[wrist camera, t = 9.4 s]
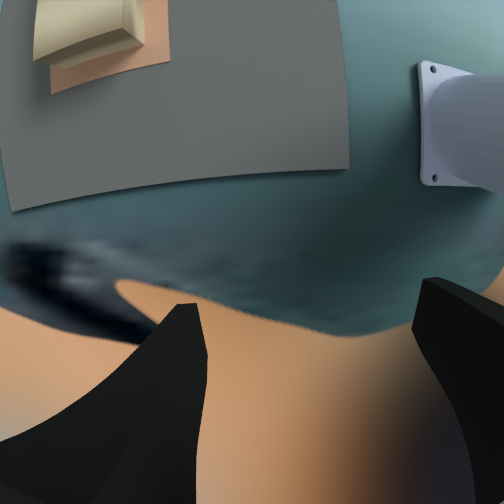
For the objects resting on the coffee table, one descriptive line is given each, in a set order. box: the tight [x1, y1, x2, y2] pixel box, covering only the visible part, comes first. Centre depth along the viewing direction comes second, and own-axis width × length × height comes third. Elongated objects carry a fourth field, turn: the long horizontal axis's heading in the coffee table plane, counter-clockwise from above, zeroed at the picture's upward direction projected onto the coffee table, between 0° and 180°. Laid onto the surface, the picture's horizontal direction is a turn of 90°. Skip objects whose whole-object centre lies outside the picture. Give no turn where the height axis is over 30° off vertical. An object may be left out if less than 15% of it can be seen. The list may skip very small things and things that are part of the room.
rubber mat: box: [0, 0, 350, 212], centre depth 12 cm, size 22×22×1 cm
